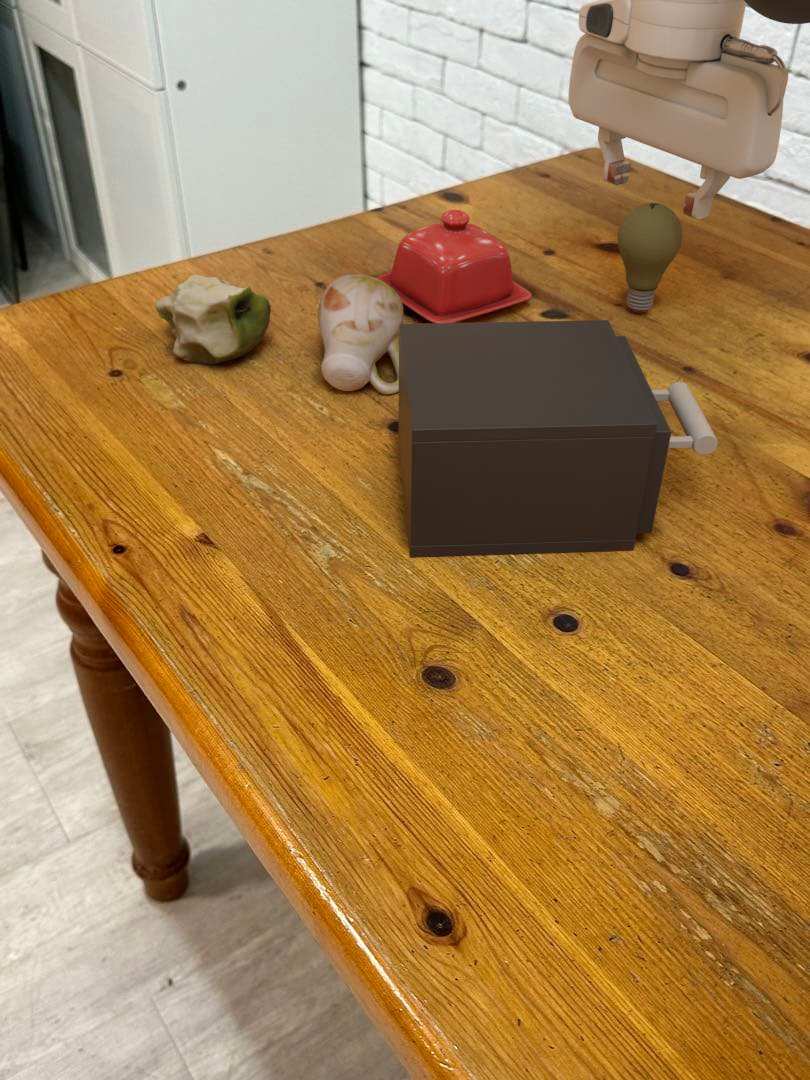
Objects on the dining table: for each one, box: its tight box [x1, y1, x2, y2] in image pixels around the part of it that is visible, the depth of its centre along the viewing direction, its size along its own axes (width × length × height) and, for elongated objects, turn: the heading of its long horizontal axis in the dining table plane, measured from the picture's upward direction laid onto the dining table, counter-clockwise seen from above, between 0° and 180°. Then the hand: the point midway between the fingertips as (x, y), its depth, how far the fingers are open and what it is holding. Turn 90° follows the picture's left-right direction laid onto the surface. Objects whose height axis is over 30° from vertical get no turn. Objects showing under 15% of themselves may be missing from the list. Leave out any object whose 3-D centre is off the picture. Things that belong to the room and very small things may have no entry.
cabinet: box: [397, 319, 657, 558], centre depth 71 cm, size 15×14×10 cm
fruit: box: [154, 274, 272, 365], centre depth 88 cm, size 9×9×8 cm
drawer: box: [616, 335, 719, 534], centre depth 71 cm, size 18×13×8 cm
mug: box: [317, 273, 405, 395], centre depth 86 cm, size 8×10×10 cm
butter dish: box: [376, 209, 533, 323], centre depth 95 cm, size 12×12×8 cm
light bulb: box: [616, 202, 683, 314], centre depth 94 cm, size 6×6×10 cm
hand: (654, 198), depth 90 cm, fingers open, 8 cm apart
